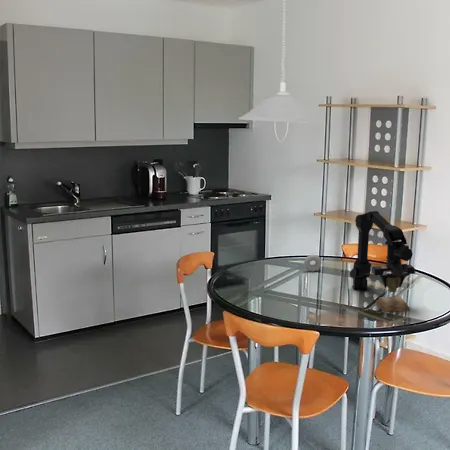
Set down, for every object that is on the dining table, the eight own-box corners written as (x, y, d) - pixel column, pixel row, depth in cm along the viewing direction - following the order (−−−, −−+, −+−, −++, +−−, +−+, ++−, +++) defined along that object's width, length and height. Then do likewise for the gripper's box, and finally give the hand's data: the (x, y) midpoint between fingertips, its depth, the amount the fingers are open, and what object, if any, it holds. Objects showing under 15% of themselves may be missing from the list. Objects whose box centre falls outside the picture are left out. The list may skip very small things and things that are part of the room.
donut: (305, 273, 328) (304, 255, 326) (303, 271, 331) (303, 254, 329) (322, 271, 329) (322, 254, 327) (320, 269, 333) (320, 253, 330)
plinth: (383, 311, 265) (383, 305, 265) (375, 302, 277) (376, 296, 277) (409, 310, 266) (409, 304, 265) (400, 301, 278) (400, 295, 277)
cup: (388, 287, 275) (388, 271, 273) (403, 290, 270) (403, 274, 269) (381, 292, 270) (382, 275, 268) (396, 295, 265) (397, 278, 263)
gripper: (378, 261, 258) (377, 294, 261) (420, 259, 259) (418, 292, 262) (371, 254, 269) (370, 286, 272) (411, 252, 269) (410, 284, 273)
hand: (392, 287), depth 270 cm, fingers closed on cup, 6 cm apart
